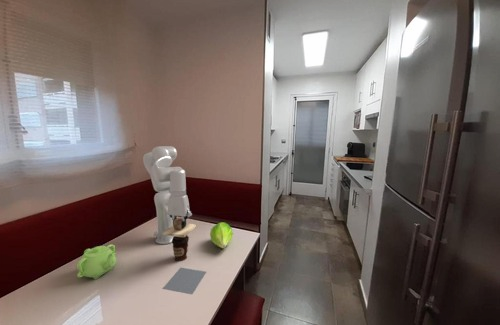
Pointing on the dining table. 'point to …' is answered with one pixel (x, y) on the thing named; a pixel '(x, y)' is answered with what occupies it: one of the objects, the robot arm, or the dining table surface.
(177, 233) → the lid
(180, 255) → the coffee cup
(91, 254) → the teapot
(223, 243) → the lettuce
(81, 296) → the dining table surface
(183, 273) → the mat
